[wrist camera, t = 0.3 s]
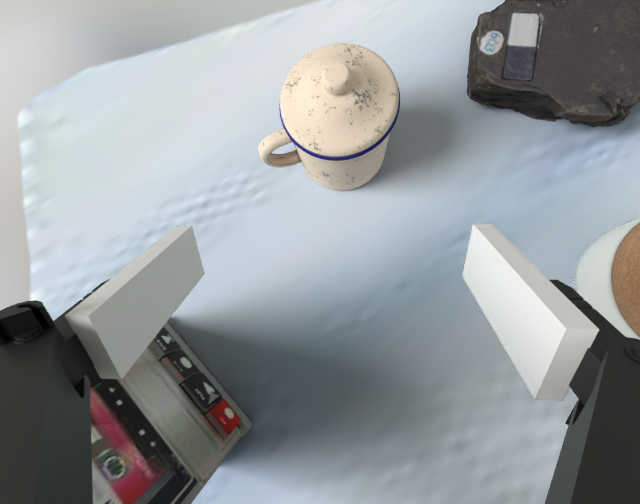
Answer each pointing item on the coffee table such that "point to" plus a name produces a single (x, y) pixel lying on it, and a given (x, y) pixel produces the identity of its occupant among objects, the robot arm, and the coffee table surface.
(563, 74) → the rock sample
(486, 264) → the robot arm
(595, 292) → the lidded jar
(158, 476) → the cassette tape recorder
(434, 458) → the coffee table surface
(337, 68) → the teacup with lid
